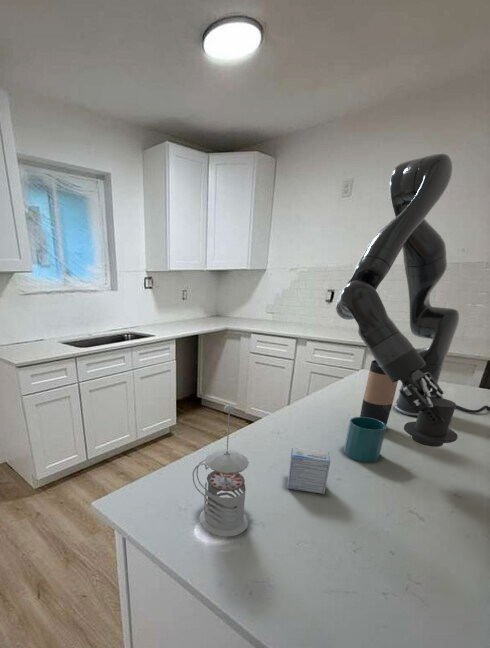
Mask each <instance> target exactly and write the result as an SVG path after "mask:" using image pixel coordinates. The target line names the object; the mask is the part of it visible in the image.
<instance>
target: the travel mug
mask: <svg viewBox="0 0 490 648" xmlns="http://www.w3.org/2000/svg"><path fill="white" fill-rule="evenodd" d="M398 383H399V381H397V382H394V383H393V382H391V381H390V379H389V378H388V376H387V375H386V374H385V372H384V371H383V370H382V368H381V367H380V366H379V364H378V363H377V361H376V360H375V359H373V360H372V361H371V363H370V367H369V372H368V376H367V380H366V384H365V389H364V393H363V398H362V403H361V410H360V416H359V417H369V418H373V419H377V420H379V421H382V422H383V423H385V424H386V426H387V424H388V421H389V417H390V414H391V410H392V407H393V403H394V399H395V396H396V392H397V387H398Z"/></svg>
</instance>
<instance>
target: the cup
mask: <svg viewBox="0 0 490 648" xmlns="http://www.w3.org/2000/svg"><path fill="white" fill-rule="evenodd" d="M387 427H388V426H387V425H386V424H385V423H383V422H382V421H379V420H377V419H373V418H369V417H360V416H354V417H352V418H350V419H349V422H348V427H347V432H346V436H345V442H344V446H343V453H344V455H345V456H346V457H348V458H350V460H351V459H352V460H354V461H357V462H362V463H373V462H377V461H378V460H379V458H380V454H381V451H382V446H383V443H384V439H385V435H386V431H387Z"/></svg>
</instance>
